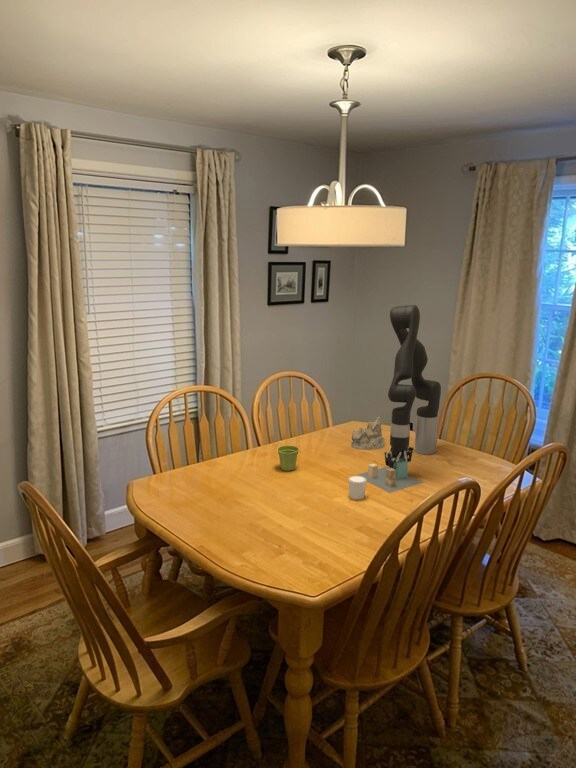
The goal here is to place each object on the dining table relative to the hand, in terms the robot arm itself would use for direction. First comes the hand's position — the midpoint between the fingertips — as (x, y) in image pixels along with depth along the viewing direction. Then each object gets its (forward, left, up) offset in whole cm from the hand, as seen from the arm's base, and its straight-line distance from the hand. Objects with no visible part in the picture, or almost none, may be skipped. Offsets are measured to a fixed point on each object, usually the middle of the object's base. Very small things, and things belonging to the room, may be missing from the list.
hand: (397, 473), depth 225 cm
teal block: (0, 0, -1) cm, 1 cm away
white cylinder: (+25, +4, -2) cm, 25 cm away
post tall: (+9, +5, -2) cm, 10 cm away
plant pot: (+31, -33, -2) cm, 45 cm away
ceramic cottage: (-18, -38, -2) cm, 42 cm away
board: (+5, 0, -2) cm, 5 cm away
